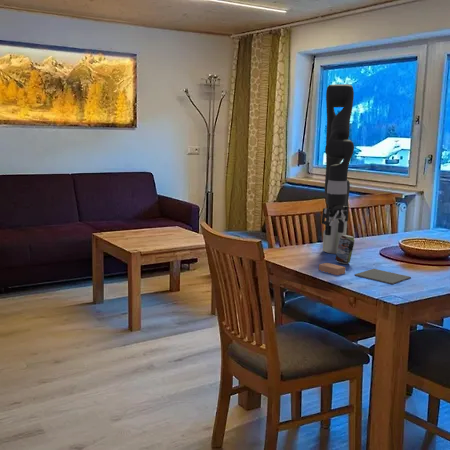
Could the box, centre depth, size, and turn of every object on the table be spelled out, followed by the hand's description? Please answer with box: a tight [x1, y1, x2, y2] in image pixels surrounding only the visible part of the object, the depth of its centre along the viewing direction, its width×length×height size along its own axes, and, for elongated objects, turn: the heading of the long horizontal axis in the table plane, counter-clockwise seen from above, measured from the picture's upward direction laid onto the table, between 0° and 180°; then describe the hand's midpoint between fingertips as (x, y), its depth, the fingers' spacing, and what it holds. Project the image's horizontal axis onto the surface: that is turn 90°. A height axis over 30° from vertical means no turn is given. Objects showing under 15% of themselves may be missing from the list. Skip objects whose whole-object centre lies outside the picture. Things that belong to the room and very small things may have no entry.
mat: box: [354, 268, 412, 285], centre depth 219 cm, size 16×14×1 cm
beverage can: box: [335, 234, 355, 265], centre depth 239 cm, size 6×7×12 cm
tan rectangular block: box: [318, 262, 346, 276], centre depth 225 cm, size 9×5×3 cm, turn 42°
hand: (334, 233), depth 222 cm, fingers open, 8 cm apart
